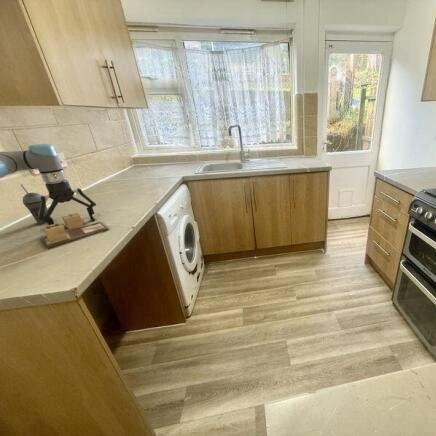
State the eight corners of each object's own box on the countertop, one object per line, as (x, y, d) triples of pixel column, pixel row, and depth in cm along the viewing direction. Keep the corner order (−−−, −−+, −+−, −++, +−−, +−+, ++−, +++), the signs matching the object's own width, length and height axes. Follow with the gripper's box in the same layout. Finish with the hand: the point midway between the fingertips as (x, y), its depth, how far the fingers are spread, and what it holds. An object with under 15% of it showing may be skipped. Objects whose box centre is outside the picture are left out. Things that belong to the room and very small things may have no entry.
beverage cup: (56, 223, 117) (36, 183, 108) (36, 228, 112) (13, 187, 104) (55, 219, 121) (35, 180, 113) (35, 224, 117) (13, 184, 108)
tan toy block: (47, 239, 99) (41, 226, 97) (65, 234, 103) (59, 222, 101) (50, 243, 96) (44, 230, 94) (68, 237, 100) (62, 225, 98)
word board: (43, 240, 101) (41, 238, 100) (100, 224, 115) (99, 221, 115) (48, 249, 94) (47, 246, 93) (108, 231, 108) (107, 228, 108)
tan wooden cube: (66, 226, 113) (61, 215, 111) (80, 222, 117) (76, 212, 115) (69, 230, 110) (64, 218, 108) (84, 225, 114) (79, 214, 112)
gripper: (16, 190, 94) (40, 238, 103) (93, 176, 111) (109, 218, 120) (13, 187, 98) (37, 233, 107) (88, 174, 116) (104, 215, 124)
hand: (75, 225), depth 114 cm, fingers open, 13 cm apart
